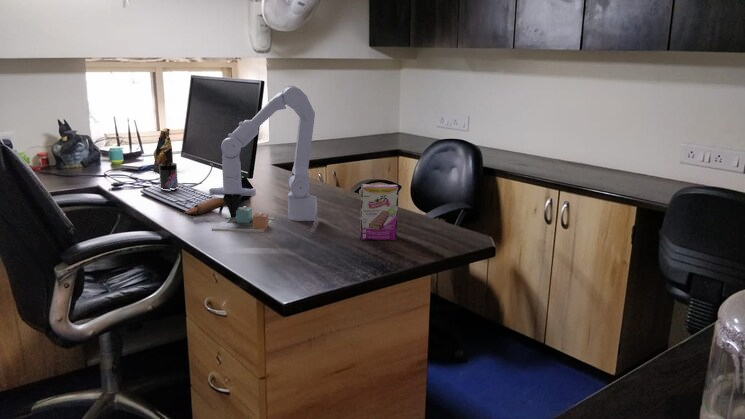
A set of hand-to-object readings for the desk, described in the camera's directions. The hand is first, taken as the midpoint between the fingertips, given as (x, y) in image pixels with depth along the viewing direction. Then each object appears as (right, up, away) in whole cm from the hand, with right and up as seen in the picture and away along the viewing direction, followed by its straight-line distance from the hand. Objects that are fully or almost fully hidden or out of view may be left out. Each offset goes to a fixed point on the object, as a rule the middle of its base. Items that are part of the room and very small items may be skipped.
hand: (233, 217), depth 198 cm
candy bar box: (+47, -7, -11) cm, 49 cm away
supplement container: (-37, +10, +49) cm, 62 cm away
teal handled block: (+3, -1, 0) cm, 4 cm away
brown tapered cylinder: (-14, +1, +16) cm, 21 cm away
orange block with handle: (+10, -3, -6) cm, 12 cm away
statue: (-51, +20, +85) cm, 101 cm away
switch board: (+4, -4, -3) cm, 6 cm away
